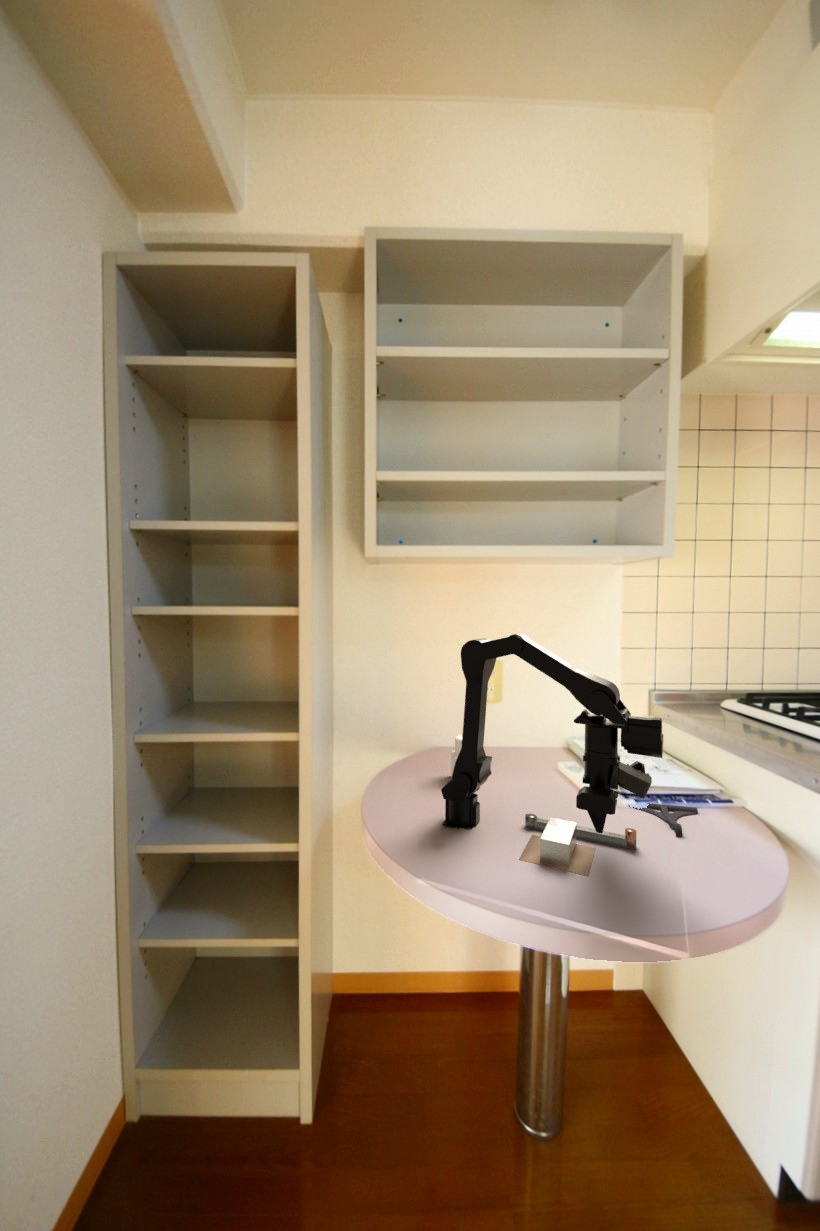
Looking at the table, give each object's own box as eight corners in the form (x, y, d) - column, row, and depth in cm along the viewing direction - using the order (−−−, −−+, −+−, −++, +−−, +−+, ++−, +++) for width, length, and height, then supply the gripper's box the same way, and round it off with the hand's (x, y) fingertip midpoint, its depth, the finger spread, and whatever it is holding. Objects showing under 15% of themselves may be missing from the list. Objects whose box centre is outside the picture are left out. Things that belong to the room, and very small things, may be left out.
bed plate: (518, 862, 89) (518, 859, 89) (532, 837, 99) (532, 834, 99) (588, 879, 84) (588, 876, 84) (595, 851, 94) (595, 847, 94)
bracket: (640, 835, 102) (640, 822, 102) (627, 806, 116) (628, 795, 116) (718, 845, 98) (719, 831, 98) (695, 814, 112) (695, 802, 112)
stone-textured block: (539, 860, 89) (540, 838, 89) (550, 837, 98) (550, 817, 98) (568, 867, 87) (568, 844, 87) (576, 842, 96) (576, 822, 96)
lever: (523, 829, 102) (524, 812, 102) (526, 824, 104) (526, 808, 104) (635, 853, 93) (636, 834, 92) (636, 847, 95) (636, 829, 95)
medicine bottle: (476, 775, 135) (477, 732, 135) (481, 785, 128) (482, 739, 127) (451, 775, 135) (451, 732, 134) (454, 785, 127) (454, 739, 127)
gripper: (648, 770, 79) (646, 866, 79) (649, 742, 96) (648, 821, 96) (576, 760, 84) (575, 850, 84) (589, 735, 101) (588, 810, 101)
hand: (599, 832), depth 91 cm, fingers closed
